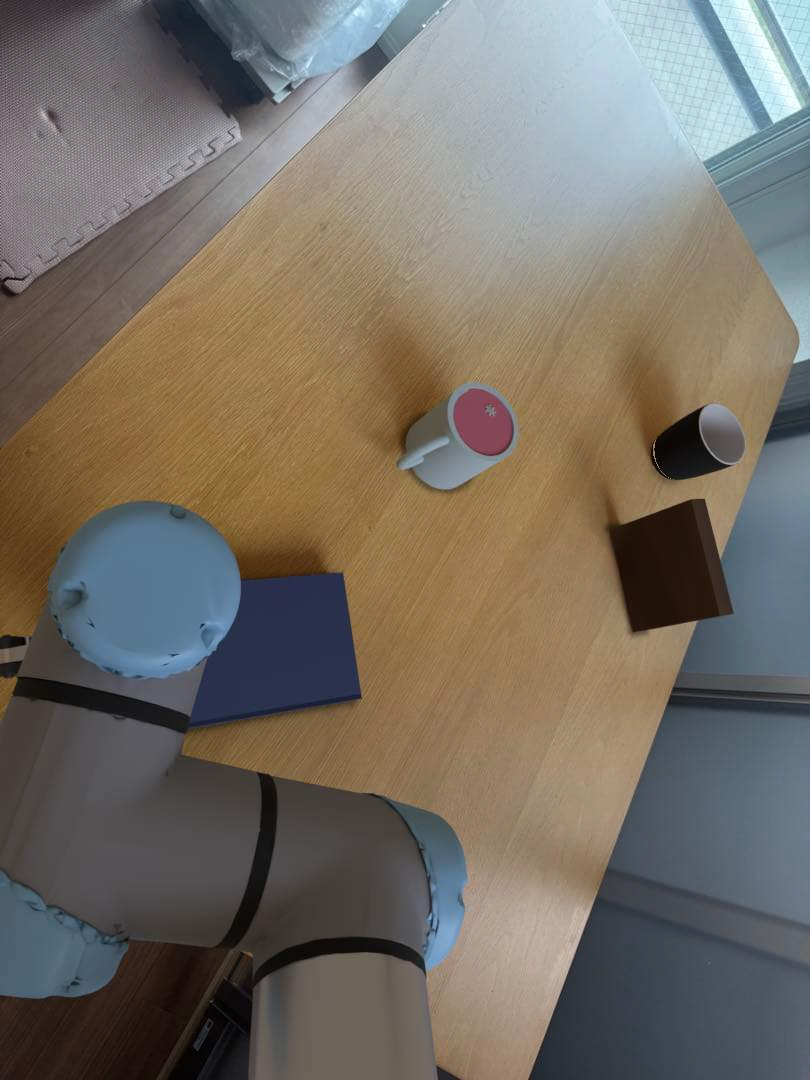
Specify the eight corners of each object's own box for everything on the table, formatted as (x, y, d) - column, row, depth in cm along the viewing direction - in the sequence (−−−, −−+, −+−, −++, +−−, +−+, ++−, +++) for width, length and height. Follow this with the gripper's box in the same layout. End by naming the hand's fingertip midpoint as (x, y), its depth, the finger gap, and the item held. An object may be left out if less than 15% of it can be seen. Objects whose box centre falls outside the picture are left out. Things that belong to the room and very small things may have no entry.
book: (101, 743, 64) (104, 743, 61) (89, 598, 67) (92, 592, 64) (350, 700, 75) (362, 698, 73) (332, 578, 78) (343, 572, 75)
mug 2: (673, 500, 105) (732, 478, 96) (633, 455, 104) (689, 428, 95) (703, 450, 111) (761, 424, 102) (666, 407, 110) (722, 377, 101)
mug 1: (450, 408, 91) (494, 373, 82) (483, 475, 91) (531, 446, 82) (361, 441, 84) (400, 406, 75) (397, 513, 84) (439, 486, 75)
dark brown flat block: (632, 632, 95) (720, 615, 83) (609, 529, 98) (691, 498, 86) (645, 630, 96) (734, 613, 84) (622, 528, 99) (705, 498, 87)
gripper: (220, 559, 46) (160, 616, 67) (-16, 575, 40) (-3, 632, 60) (234, 677, 45) (168, 698, 65) (-9, 713, 39) (2, 724, 59)
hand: (86, 667), depth 63 cm, fingers closed
